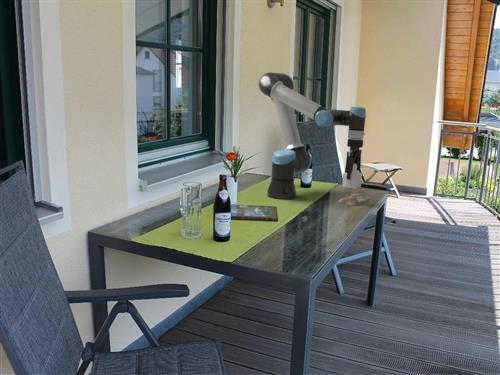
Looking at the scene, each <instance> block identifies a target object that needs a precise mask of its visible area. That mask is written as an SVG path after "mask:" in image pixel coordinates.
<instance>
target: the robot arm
mask: <svg viewBox="0 0 500 375" xmlns="http://www.w3.org/2000/svg"><path fill="white" fill-rule="evenodd" d="M258 88H259V91H260V92H262V94H263V95H265V96H266V97H269V98H270V99H271V102H272V103H274V104H275V108H276V113H277V116H278V121H279V125H280V128H281V134H282V138H283V143H284V149H279V150H276V151H274V152H273V154H272V159H271V161H272V163H271V176H270V177H271V178H270V179H271V181H270V183H269V186H268V188H267V190H266V196H267V197H269V198H273V199H279V200H291V199H296V198H297V190H296V186H295V174H300V173H304V172H306V171H308V169H310V167H311V165H312V160H313V159H312V155H311V154H310V152H308V151H307V150H306V146H305V144H303V143H302V141H301V137H300V132H299V129H298V125H297V120H296V115H295V112H294V110H296V111H297V112H299V113H301V114H303V116H306V117H308V118H310V119H311V120H314V122H315V123H316V125H318V126H320V127H323V128H327V127H331V126H344V127H348V132H347V138H348V139H347V144H346V145H347V147H349V148H350V149H349V151H347V152H346V160H345V161H346V162H345V167H344V168H345V169H344V172H345V173H347V176H346V186H351V185H352V169H353V165H354V163H358V164H359V165H360V166H359V172H361V167H362V166H361V164H362V149H360V148H364V140H363V139H364V136H365V135H366V133H365V126H366V118H367V117H366V114H367V113H366V111H367V110H366V107H362V106H351V107H350V109H349V110H345V109H344V110H343V109H335V108H333V109H328V108H326V107H324V106H322V105H320V104H319V103H317V102H315V101H313V100H312V99H309V98H308V97H306V96H304V95H303V94H300V93H298V92H297V91H295V90H294V88H295V82H294V79H293V78H292V77H291V76H290V75H289V74H287V73H284V72H283V73H282V72H279V73H278V72H273V71H272V72H270V71H269V72H266V73H264V74H262V75H261V77H260V78H259V80H258Z"/></svg>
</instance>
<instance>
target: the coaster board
mask: <svg viewBox="0 0 500 375" xmlns="http://www.w3.org/2000/svg"><path fill="white" fill-rule="evenodd" d="M368 200H370V196H367V195H366V194H361V193H350V195H348V196H344V197H341V198H340V199H338V200H337V203H338V204H342V205H349V206H354V207H356V206H357V205H360V204H362V203H364V202H366V201H368Z"/></svg>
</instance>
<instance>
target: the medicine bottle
mask: <svg viewBox="0 0 500 375" xmlns="http://www.w3.org/2000/svg"><path fill="white" fill-rule="evenodd" d="M359 166H360V165H359V164H358V163H354V165H353V169H352V185H351V186H346V176H347V173H345V171H344V172H343V173H342V183H341V187H343V188H349V189H354V190H356V189H358V188H361V186H362V176H363V173H362V172H360V171H359Z"/></svg>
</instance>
